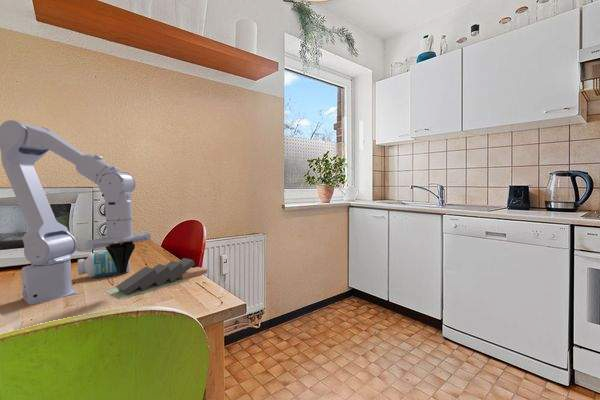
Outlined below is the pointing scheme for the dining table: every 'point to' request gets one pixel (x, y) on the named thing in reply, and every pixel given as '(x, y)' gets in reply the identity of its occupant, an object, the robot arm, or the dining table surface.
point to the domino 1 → (136, 280)
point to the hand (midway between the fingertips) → (121, 272)
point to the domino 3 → (173, 268)
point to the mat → (137, 291)
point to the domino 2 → (160, 271)
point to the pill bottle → (98, 265)
